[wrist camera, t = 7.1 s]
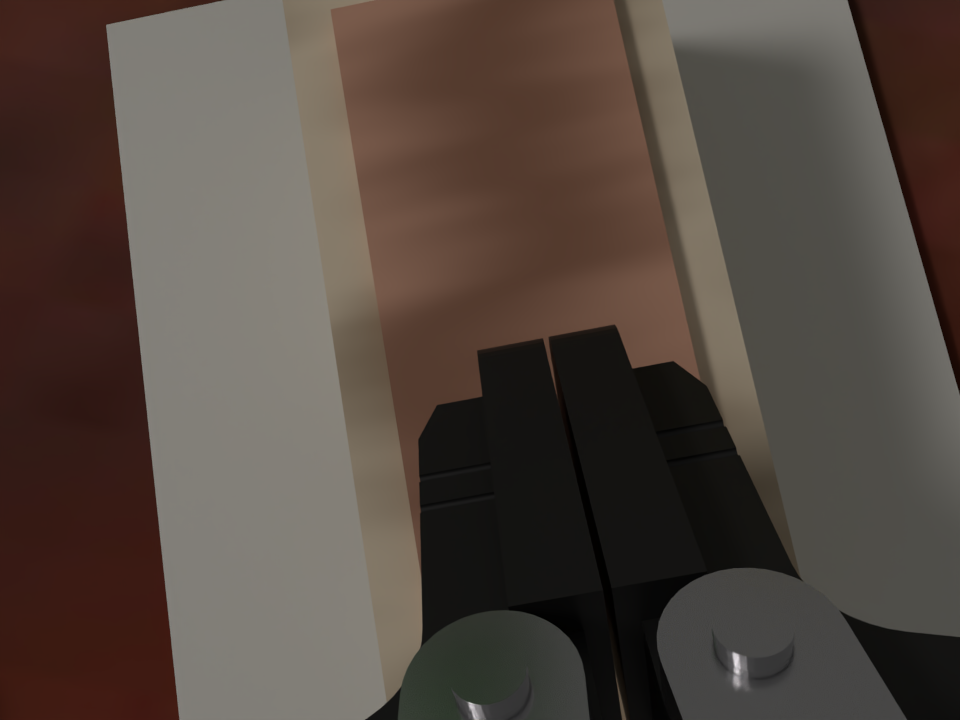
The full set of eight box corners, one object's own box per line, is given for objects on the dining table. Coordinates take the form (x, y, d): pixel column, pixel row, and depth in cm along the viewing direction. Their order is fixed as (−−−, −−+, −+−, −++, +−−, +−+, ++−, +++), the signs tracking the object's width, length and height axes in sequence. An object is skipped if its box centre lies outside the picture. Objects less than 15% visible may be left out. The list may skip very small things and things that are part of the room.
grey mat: (248, 1265, 17) (239, 1285, 17) (115, 35, 23) (106, 24, 22) (1155, 1128, 17) (1173, 1146, 16) (806, -107, 22) (813, -122, 21)
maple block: (399, 818, 12) (265, -90, 15) (449, 723, 19) (348, 92, 21) (846, 741, 12) (626, -166, 15) (745, 672, 18) (604, 39, 21)
